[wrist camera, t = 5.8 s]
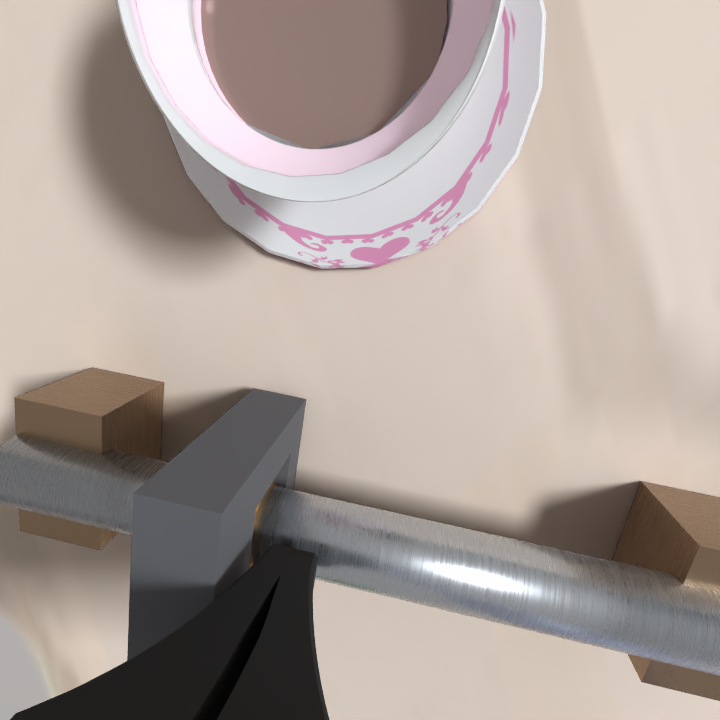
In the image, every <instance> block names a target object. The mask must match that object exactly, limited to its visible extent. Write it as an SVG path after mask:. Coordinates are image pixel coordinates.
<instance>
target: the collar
mask: <svg viewBox="0 0 720 720" xmlns="http://www.w3.org/2000/svg"><path fill="white" fill-rule="evenodd" d="M305 405H306V399H302V398H297V397H292V396H288V395H283V394H278V393H273V392H268V391H263V390H258V389H252V390H251V391H250V392H249V393H248V394H247V395H245V396H244V397H243V398H242V399H241V400H240V401H239V402H237V403H236V404H235V405H234V406H233V407H232V408H231V409H229V410H228V411H227V412H226V413H225V414H224V415H222V416H221V417H220V418H219V419H218V420H217V421H216V422H214V423H213V424H212V425H211V426H210V427H209V428H208V429H206V430H205V431H204V432H203V433H202V434H201V435H200V436H198V437H197V438H196V439H195V440H194V441H193V442H191V443H190V444H189V445H188V446H187V447H186V448H185V449H183V450H182V451H181V452H180V453H179V454H178V455H177V456H175V457H174V458H173V459H172V460H171V461H170V462H168V463H167V464H166V465H165V466H164V467H163V468H162V469H160V470H159V471H158V472H157V473H156V474H155V475H154V476H152V477H151V478H150V479H149V480H148V481H147V482H146V483H144V484H143V485H142V486H141V487H140V488H139V489H137V490H136V491H135V492H134V493H133V512H132V541H131V571H130V601H129V630H128V660H130V659H131V658H133V657H135V656H136V655H138V654H140V653H141V652H143V651H145V650H146V649H148V648H149V647H151V646H152V645H154V644H156V643H157V642H159V641H160V640H162V639H163V638H165V637H166V636H168V635H169V634H171V633H172V632H174V631H175V630H176V629H178V628H179V627H181V626H182V625H183V624H185V623H186V622H188V621H189V620H190V619H192V618H193V617H194V616H195V615H197V614H198V613H199V612H200V611H202V610H203V609H204V608H205V607H207V606H208V605H209V604H210V603H211V602H213V601H214V600H215V599H216V598H218V597H219V596H220V595H221V594H222V593H223V592H225V591H226V590H227V589H228V588H229V587H230V586H231V585H232V584H233V583H234V582H236V581H237V580H238V579H239V578H240V577H241V576H242V575H243V574H244V573H245V572H246V571H247V570H248V569H249V563H250V555H251V546H252V538H253V529H254V521H255V512H256V508H257V506H258V505H259V503H260V501H261V500H262V498H263V497H264V495H265V493H266V492H267V490H268V489H269V487H270V485H271V484H272V482H273V481H274V482H275V485H276V486H278V487H282V488H287V489H291V490H294V483H295V476H296V468H297V461H298V454H299V447H300V440H301V433H302V426H303V419H304V412H305ZM128 660H127V661H128Z"/></svg>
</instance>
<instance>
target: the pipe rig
mask: <svg viewBox="0 0 720 720" xmlns="http://www.w3.org/2000/svg"><path fill="white" fill-rule="evenodd" d="M163 394H164V382H159V381H154V380H150V379H145V378H140V377H135V376H130V375H126V374H121V373H116V372H111V371H106V370H101V369H97V368H90V369H88V370H85V371H82V372H80V373H77V374H75V375H72V376H69V377H67V378H64V379H61V380H59V381H56V382H54V383H51V384H48V385H46V386H43V387H41V388H38V389H35V390H33V391H30V392H28V393H25V394H22V395H20V396H17V397H15V420H16V435H14V436H12V437H11V438H9V439H8V440H7V441H6V442H4V443H3V444H2V445H1V446H0V504H3V505H7V506H11V507H15V508H19V514H20V531H23V532H28V533H32V534H36V535H40V536H44V537H48V538H52V539H56V540H60V541H65V542H69V543H73V544H77V545H81V546H85V547H89V548H93V549H97V550H101V549H102V548H103V547H104V546H105V545H106V544H107V543H108V542H109V541H110V540H111V539H113V538H114V537H115V536H116V535H117V534H118V533H119V532H120V533H124V534H128V535H132V512H133V493H134V492H135V491H136V490H137V489H139V488H140V487H141V486H142V485H143V484H144V483H146V482H147V481H148V480H149V479H150V478H151V477H152V476H154V475H155V474H156V473H157V472H158V471H159V470H160V469H162V468H163V467H164V466H165V465H166V464H167V463H168V462H166V461H161V460H160V453H161V433H162V413H163ZM273 544H278V545H282V546H287V547H291V548H295V549H300V550H304V551H308V552H312V553H315V554H316V555H317V557H318V563H317V569H316V575H315V579H317V580H321V581H325V582H329V583H333V584H338V585H342V586H346V587H350V588H354V589H358V590H363V591H367V592H371V593H375V594H379V595H384V596H388V597H392V598H396V599H400V600H405V601H409V602H413V603H417V604H421V605H425V606H430V607H434V608H438V609H442V610H446V611H451V612H455V613H459V614H463V615H467V616H471V617H476V618H480V619H484V620H488V621H492V622H497V623H501V624H505V625H509V626H513V627H518V628H522V629H526V630H530V631H534V632H538V633H543V634H547V635H551V636H555V637H559V638H564V639H568V640H572V641H576V642H580V643H585V644H589V645H593V646H597V647H601V648H605V649H610V650H614V651H618V652H622V653H626V654H628V656H629V658H630V660H631V662H632V664H633V666H634V668H635V670H636V672H637V674H638V676H639V678H640V680H641V682H644V683H648V684H652V685H656V686H661V687H665V688H669V689H673V690H677V691H681V692H685V693H689V694H693V695H698V696H702V697H706V698H710V699H714V700H718V701H720V498H719V497H714V496H710V495H705V494H700V493H695V492H690V491H685V490H681V489H676V488H671V487H666V486H661V485H656V484H652V483H647V482H642V481H641V484H640V486H639V489H638V492H637V494H636V497H635V500H634V502H633V505H632V508H631V511H630V513H629V516H628V519H627V521H626V524H625V527H624V529H623V532H622V535H621V537H620V540H619V543H618V546H617V548H616V551H615V554H614V556H613V559H612V561H610V560H606V559H601V558H597V557H592V556H588V555H583V554H579V553H574V552H570V551H565V550H561V549H556V548H552V547H547V546H543V545H538V544H534V543H529V542H525V541H520V540H516V539H511V538H507V537H502V536H498V535H493V534H489V533H484V532H480V531H475V530H471V529H466V528H462V527H457V526H453V525H448V524H444V523H439V522H435V521H430V520H426V519H422V518H417V517H413V516H408V515H404V514H399V513H395V512H390V511H386V510H381V509H377V508H372V507H368V506H363V505H359V504H354V503H350V502H345V501H341V500H336V499H332V498H327V497H323V496H318V495H314V494H309V493H305V492H300V491H296V490H291V489H287V488H282V487H278V486H276V485H275V482H274V481H273V482H272V484H271V485H270V487H269V489H268V490H267V492H266V493H265V495H264V497H263V498H262V500H261V501H260V503H259V505H258V506H257V508H256V512H255V521H254V529H253V538H252V546H251V555H250V563H249V568H250V567H251V566H252V565H253V564H254V563H255V562H256V561H257V560H258V559H259V558H260V557H261V556H262V555H263V554H264V553H265V552H266V551H267V549H268V548H269V547H270V546H272V545H273Z"/></svg>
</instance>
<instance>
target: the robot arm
mask: <svg viewBox="0 0 720 720" xmlns="http://www.w3.org/2000/svg"><path fill="white" fill-rule="evenodd" d="M317 563H318V557H317V555H316V554H315V553H312V552H308V551H304V550H300V549H295V548H291V547H287V546H282V545H278V544H273V545H272V546H270V547H269V548H268V549H267V551H266V552H265V553H264V554H263V555H262V556H261V557H260V558H259V559H258V560H257V561H256V562H255V563H254V564H253V565H252V566H251V567H250V568H249V569H248V570H247V571H246V572H245V573H244V574H243V575H242V576H241V577H240V578H239V579H238V580H237V581H236V582H234V583H233V584H232V585H231V586H230V587H229V588H228V589H227V590H226V591H225V592H223V593H222V594H221V595H220V596H219V597H218V598H216V599H215V600H214V601H213V602H211V603H210V604H209V605H208V606H207V607H205V608H204V609H203V610H202V611H200V612H199V613H198V614H197V615H195V616H194V617H193V618H192V619H190V620H189V621H188V622H186V623H185V624H183V625H182V626H181V627H179V628H178V629H176V630H175V631H174V632H172V633H171V634H169V635H168V636H166V637H165V638H163V639H162V640H160V641H159V642H157V643H156V644H154V645H152V646H151V647H149V648H148V649H146V650H145V651H143V652H141V653H140V654H138V655H136V656H135V657H133V658H131V659H130V660H128V661H126V662H125V663H123V664H121V665H119V666H117V667H115V668H113V669H112V670H110V671H108V672H106V673H104V674H102V675H100V676H98V677H96V678H94V679H92V680H91V681H89V682H87V683H85V684H83V685H81V686H79V687H77V688H74V689H72V690H70V691H68V692H66V693H63V694H61V695H59V696H56V697H54V698H52V699H49V700H47V701H45V702H42V703H40V704H38V705H35V706H33V707H31V708H28V709H26V710H23V711H21V712H18V713H16V714H15V715H14V716H13V717H12V718H11V719H10V720H329V717H328V713H327V709H326V705H325V700H324V695H323V690H322V686H321V680H320V674H319V669H318V662H317V655H316V647H315V637H314V625H313V587H314V581H315V575H316V569H317Z"/></svg>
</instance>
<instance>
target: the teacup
mask: <svg viewBox="0 0 720 720" xmlns="http://www.w3.org/2000/svg"><path fill="white" fill-rule="evenodd" d="M116 4H117V9H118V13H119V17H120V21H121V25H122V29H123V32H124V35H125V38H126V42H127V44H128V47H129V50H130V53H131V55H132V58H133V60H134V63H135V65H136V67H137V70H138V72H139V74H140V76H141V78H142V80H143V82H144V84H145V86H146V88H147V90H148V92H149V93H150V95H151V97H152V99H153V101H154V102H155V104H156V105H157V107H158V108H159V110H160V112H161V113H162V115H163V117H164V120H165V123H166V125H167V127H168V130H169V132H170V135H171V137H172V140H173V142H174V144H175V147H176V149H177V152H178V154H179V156H180V159H181V161H182V164H183V166H184V169H185V171H186V173H187V176H188V177H189V178H190V179H191V181H192V182H193V183H194V184H195V186H196V187H197V188H198V189H199V191H200V192H201V193H202V195H203V196H204V197H205V198H206V200H207V201H208V202H209V203H210V205H211V206H212V207H213V208H214V210H215V211H216V212H217V214H218V215H219V216H220V217H221V219H222V220H223V221H224V222H225V223H227V224H228V225H230V226H231V227H233V228H234V229H236V230H237V231H238V232H240V233H241V234H243V235H244V236H246V237H247V238H248V239H250V240H251V241H253V242H254V243H256V244H257V245H259V246H260V247H261V248H263V249H264V250H266V251H267V252H269V253H271V254H274V255H278V256H281V257H284V258H288V259H291V260H294V261H298V262H301V263H304V264H308V265H311V266H314V267H317V268H321V269H329V268H363V267H378V266H381V265H384V264H386V263H389V262H392V261H395V260H397V259H400V258H403V257H406V256H408V255H411V254H414V253H417V252H419V251H422V250H425V249H427V248H430V247H432V246H433V245H434V244H436V243H437V242H438V241H440V240H441V239H442V238H443V237H445V236H446V235H447V234H449V233H450V232H451V231H452V230H454V229H455V228H456V227H458V226H459V225H460V224H462V223H463V222H464V221H465V220H467V219H468V218H469V217H471V216H472V215H473V214H475V213H476V212H477V211H478V210H480V208H481V207H482V206H483V204H484V203H485V201H486V200H487V199H488V197H489V196H490V194H491V193H492V192H493V190H494V189H495V187H496V186H497V185H498V183H499V182H500V180H501V179H502V178H503V176H504V175H505V173H506V172H507V171H508V169H509V168H510V166H511V165H512V164H513V162H514V161H515V159H516V158H517V157H518V155H519V152H520V149H521V146H522V144H523V141H524V138H525V135H526V132H527V129H528V127H529V124H530V121H531V118H532V115H533V112H534V109H535V107H536V104H537V101H538V98H539V95H540V92H541V90H542V79H543V61H544V43H545V25H546V12H545V7H544V3H543V0H116Z"/></svg>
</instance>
